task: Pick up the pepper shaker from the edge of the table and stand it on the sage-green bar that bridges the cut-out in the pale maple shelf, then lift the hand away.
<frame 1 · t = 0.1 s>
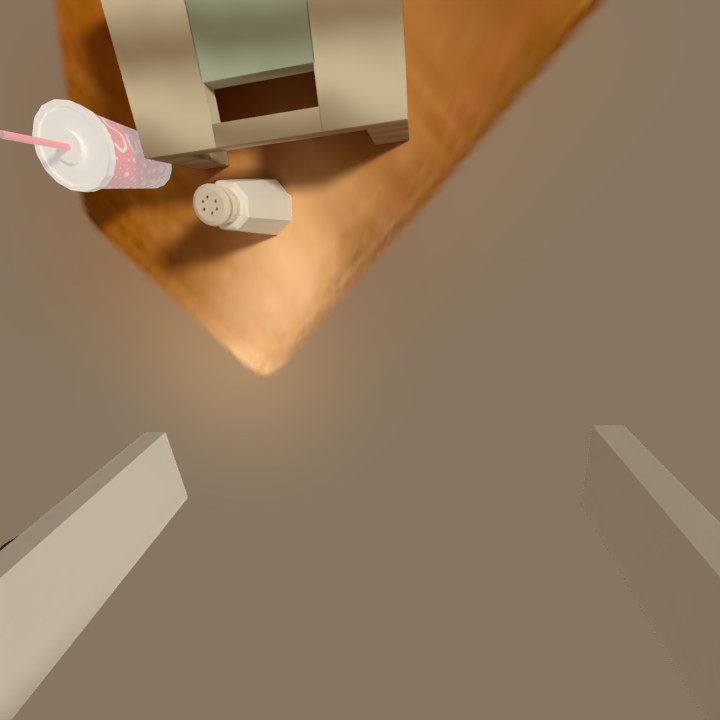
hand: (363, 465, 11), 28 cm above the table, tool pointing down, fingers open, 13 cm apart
cut-out shelf: (286, 63, 31), on the table
beverage cup 2: (151, 162, 36), on the table
pepper shaker: (268, 207, 36), on the table
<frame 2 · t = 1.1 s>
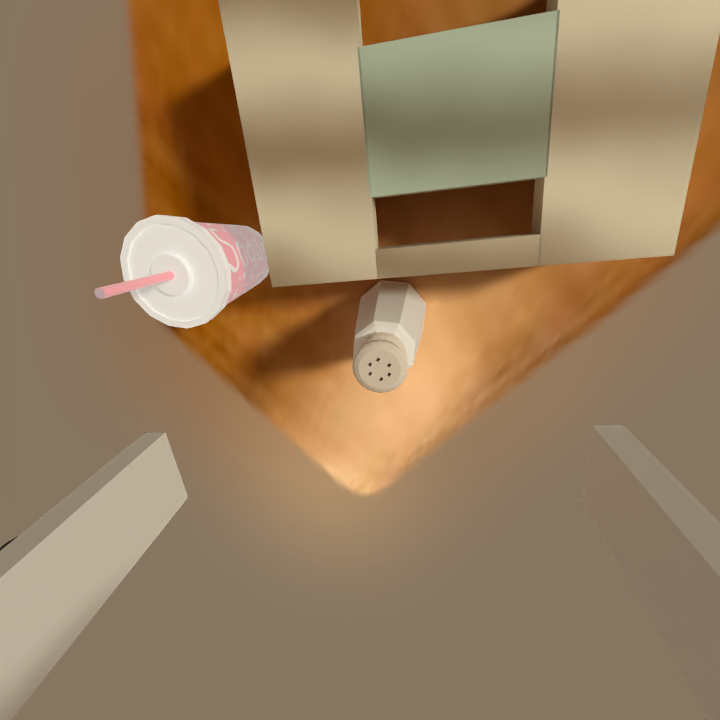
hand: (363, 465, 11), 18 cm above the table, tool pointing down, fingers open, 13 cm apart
cut-out shelf: (442, 144, 24), on the table
beverage cup 2: (244, 256, 28), on the table
pepper shaker: (392, 312, 28), on the table
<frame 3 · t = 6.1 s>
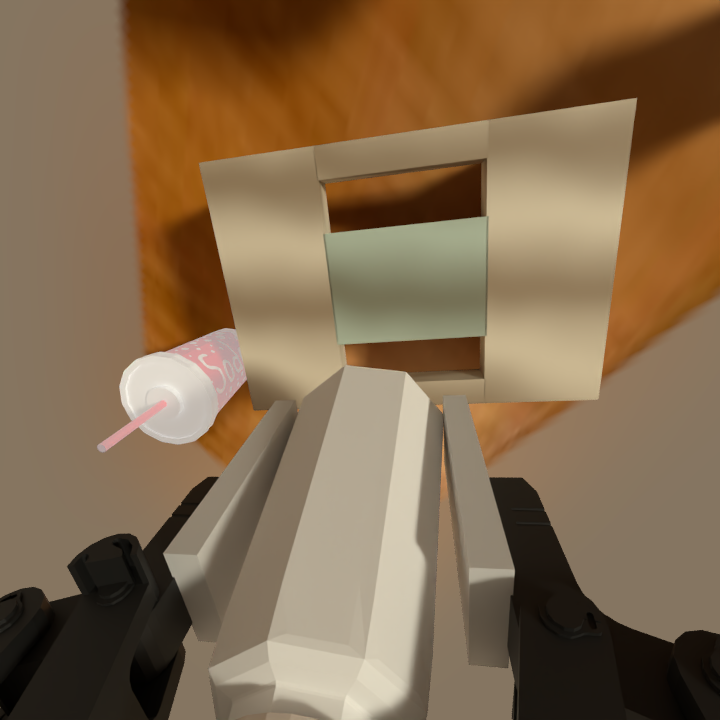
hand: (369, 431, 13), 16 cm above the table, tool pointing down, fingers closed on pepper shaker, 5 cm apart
cut-out shelf: (407, 268, 27), on the table
beverage cup 2: (232, 353, 31), on the table
pepper shaker: (371, 425, 14), point 16 cm above the table, touching gripper
when the fingers open (10 cm above the table, at t = 8.4 s): pepper shaker drops 1 cm, resting on cut-out shelf.
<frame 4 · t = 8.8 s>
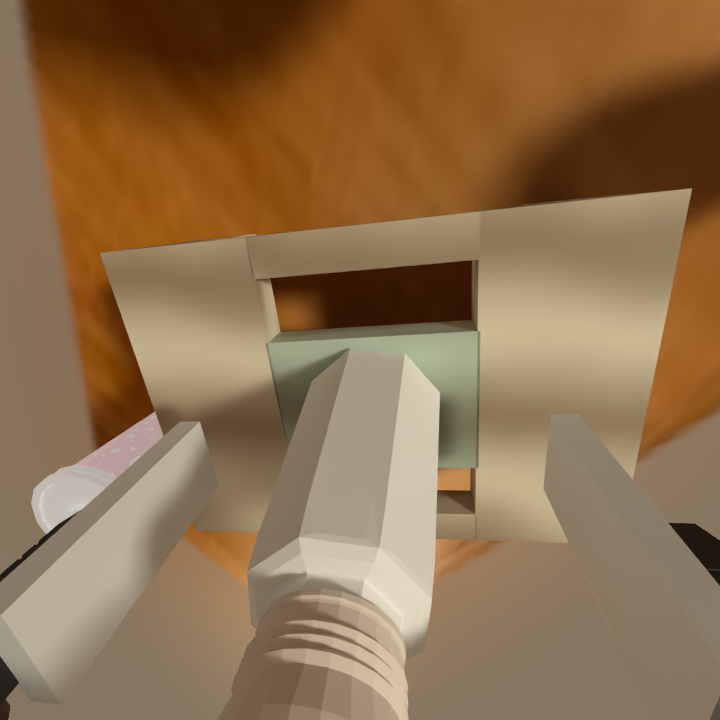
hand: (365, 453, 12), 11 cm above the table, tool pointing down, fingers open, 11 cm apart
cut-out shelf: (387, 342, 22), on the table
beverage cup 2: (189, 426, 27), on the table
pepper shaker: (373, 406, 15), point 8 cm above the table, touching cut-out shelf
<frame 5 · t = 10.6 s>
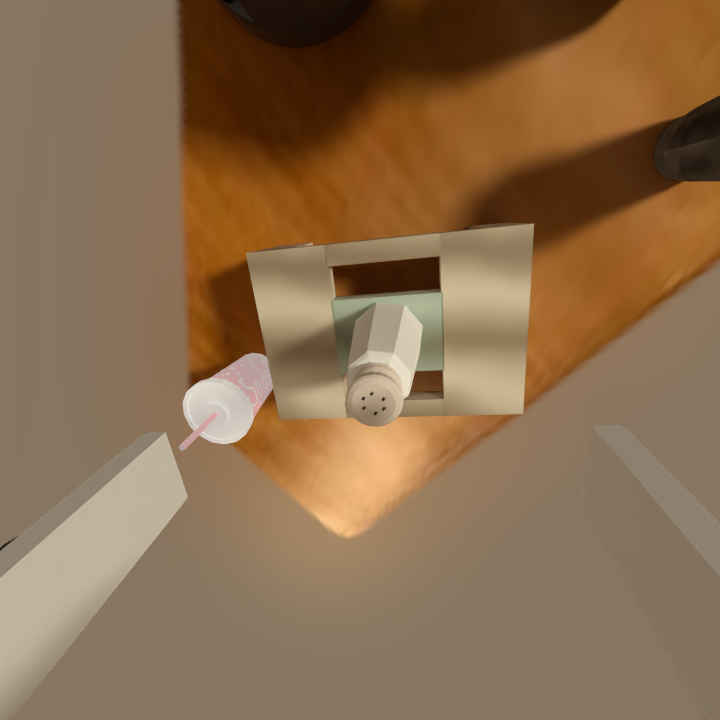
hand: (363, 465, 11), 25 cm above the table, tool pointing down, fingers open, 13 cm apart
cut-out shelf: (393, 311, 35), on the table
beverage cup 2: (258, 372, 40), on the table
beverage cup: (685, 147, 28), on the table
pepper shaker: (388, 334, 28), point 8 cm above the table, touching cut-out shelf
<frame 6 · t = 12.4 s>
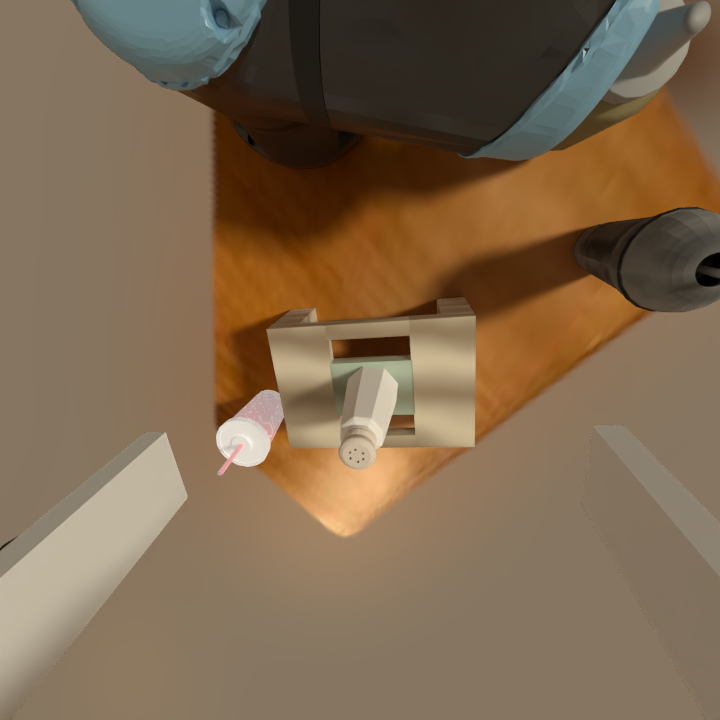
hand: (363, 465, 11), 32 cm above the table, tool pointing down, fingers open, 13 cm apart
cut-out shelf: (379, 360, 44), on the table
beverage cup 2: (271, 404, 49), on the table
squeeze bottle: (543, 104, 33), on the table, touching arm
beverage cup: (597, 247, 37), on the table
pepper shaker: (372, 388, 37), point 8 cm above the table, touching cut-out shelf
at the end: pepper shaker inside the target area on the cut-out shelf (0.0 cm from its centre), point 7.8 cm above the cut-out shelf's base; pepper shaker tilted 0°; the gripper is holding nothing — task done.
